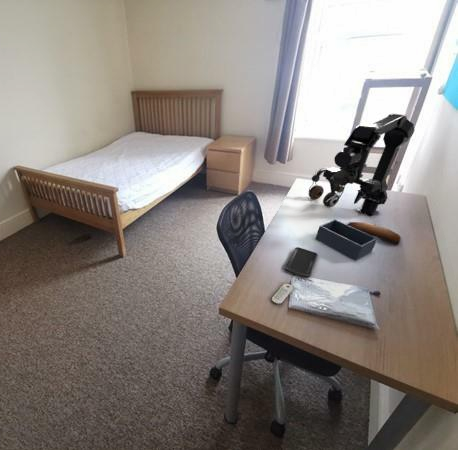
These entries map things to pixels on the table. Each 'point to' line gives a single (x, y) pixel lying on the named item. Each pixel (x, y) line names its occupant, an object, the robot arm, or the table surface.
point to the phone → (301, 262)
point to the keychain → (282, 293)
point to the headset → (318, 191)
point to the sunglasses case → (376, 231)
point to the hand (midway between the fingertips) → (343, 199)
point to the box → (346, 239)
